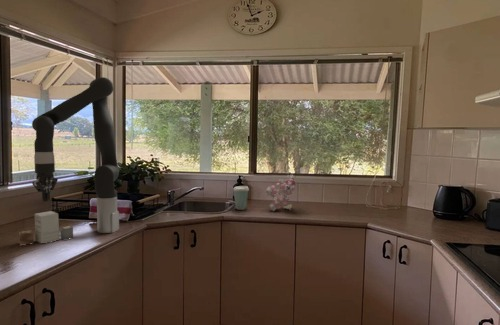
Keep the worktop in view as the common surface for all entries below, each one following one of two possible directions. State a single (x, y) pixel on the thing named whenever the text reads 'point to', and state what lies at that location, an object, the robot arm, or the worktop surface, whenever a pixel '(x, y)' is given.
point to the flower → (285, 187)
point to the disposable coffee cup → (241, 196)
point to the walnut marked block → (26, 237)
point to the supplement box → (46, 227)
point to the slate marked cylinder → (66, 232)
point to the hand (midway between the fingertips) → (46, 200)
